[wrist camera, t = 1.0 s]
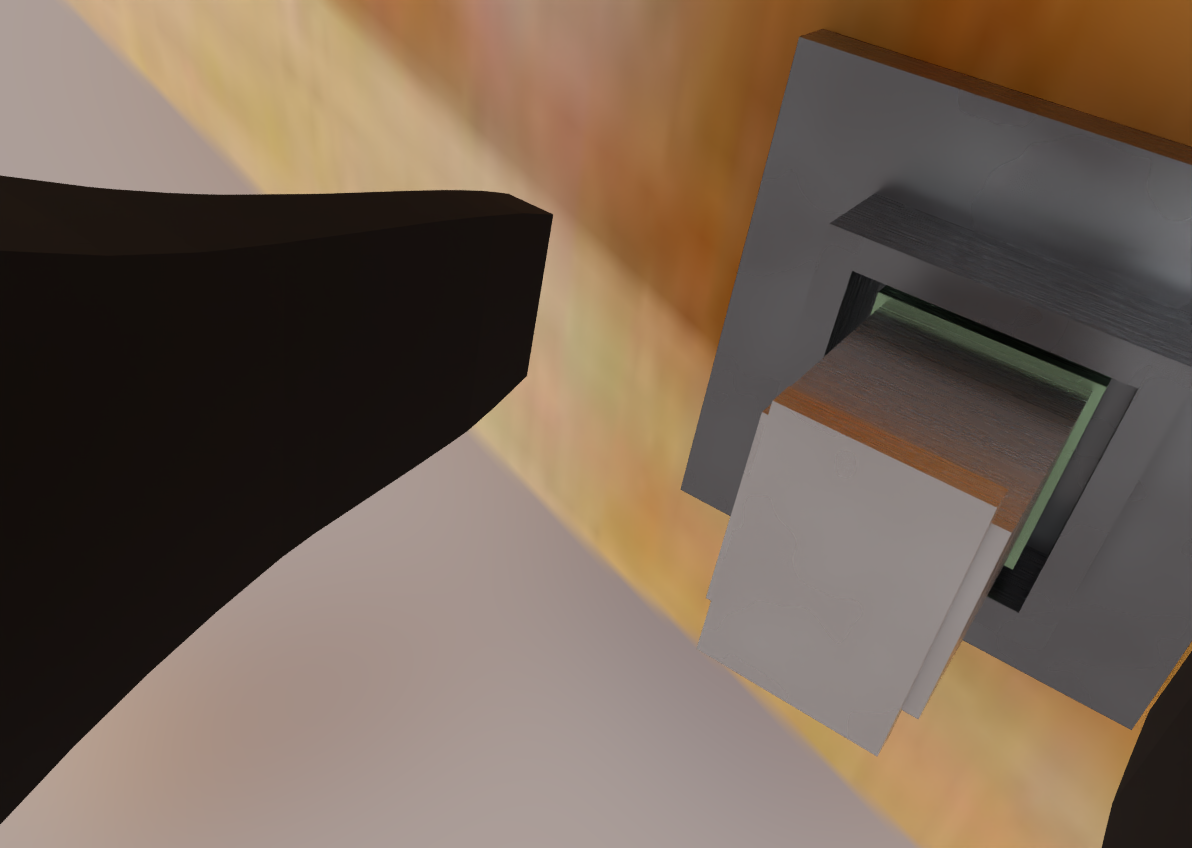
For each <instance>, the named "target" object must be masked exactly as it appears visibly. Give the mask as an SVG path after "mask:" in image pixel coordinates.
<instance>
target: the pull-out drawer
mask: <svg viewBox="0 0 1192 848" xmlns="http://www.w3.org/2000/svg"><path fill="white" fill-rule="evenodd" d="M1111 379H1112V378H1111V377H1109V376H1106V375H1104V374H1102V373H1099V372H1097V371H1094V370H1092V369H1089V368H1087V367H1085V366H1082V365H1080V364H1077V363H1075V362H1072V361H1070V360H1068V359H1065V358H1063V357H1060V356H1058V355H1055V354H1053V353H1051V352H1048V351H1046V350H1043V349H1041V348H1038V347H1036V346H1034V345H1031V344H1029V343H1026V342H1024V341H1021V340H1019V339H1017V338H1014V337H1012V336H1009V335H1007V334H1004V333H1002V332H1000V331H997V330H995V329H992V328H990V327H987V326H985V325H983V324H980V323H978V322H975V321H973V320H970V319H968V318H966V317H963V316H961V315H958V314H956V313H953V312H951V311H949V310H946V309H944V308H941V307H939V306H936V305H934V304H932V303H929V302H927V301H924V300H922V299H919V298H917V297H915V296H912V295H910V294H907V293H905V292H902V291H900V290H898V289H895V288H893V287H890V286H888V285H886V286H885V287H884V288H883V289H881V290H880V291H879V292H878V295H877V297H876V300H875V303H874V306H873V309H872V312H871V315H870V316H869V317H868V318H867V319H866V320H865V321H864V322H863V323H861V324H860V325H859V326H858V327H857V328H856V329H855V330H854V331H852V332H851V333H850V334H849V335H848V336H847V337H846V338H845V339H843V340H842V341H841V342H840V343H839V344H838V345H837V346H836V347H835V348H833V349H832V350H831V351H830V352H829V353H828V354H827V355H826V356H824V357H823V358H822V359H821V360H820V361H819V362H818V363H817V364H815V365H814V366H813V367H812V368H811V369H810V370H809V371H808V372H806V373H805V374H804V375H803V376H802V377H801V378H800V379H799V380H797V381H796V382H795V383H794V384H793V385H792V386H791V387H790V386H788V387H787V388H786V389H785V390H784V391H783V392H782V393H781V394H779V395H778V396H777V397H776V398H775V399H774V400H773V401H772V404H770V405H769V406H768V407H767V408H766V409H765V410H764V411H763V412H762V414H761V417H760V421H759V424H758V427H757V430H756V434H755V437H754V440H753V444H752V447H751V450H750V454H749V457H748V460H747V464H746V467H745V470H744V474H743V477H742V480H741V483H740V487H739V490H738V493H737V497H736V500H735V503H734V507H733V510H732V513H731V517H730V520H729V523H728V527H727V530H726V533H725V537H724V540H723V543H722V546H721V550H720V553H719V556H718V560H717V563H716V566H715V570H714V573H713V576H712V580H711V583H710V586H709V590H708V593H707V596H706V598H707V599H709V600H711V603H710V606H709V610H708V613H707V616H706V620H705V623H704V626H703V629H702V633H701V636H700V639H699V642H698V646H697V649H698V650H699V651H701V652H703V653H704V654H706V655H708V656H709V657H711V658H713V659H715V660H716V661H718V662H720V663H721V664H723V665H725V666H726V667H728V668H730V669H731V670H733V671H735V672H736V673H738V674H740V675H741V676H743V677H745V678H746V679H748V680H750V681H751V682H753V683H755V684H756V685H758V686H760V687H761V688H763V689H765V690H767V691H768V692H770V693H772V694H773V695H775V696H777V697H778V698H780V699H782V700H783V701H785V702H787V703H788V704H790V705H792V706H793V707H795V708H797V709H798V710H800V711H802V712H803V713H805V714H807V715H808V716H810V717H812V718H813V719H815V720H817V721H819V722H820V723H822V724H824V725H825V726H827V727H829V728H830V729H832V730H834V731H835V732H837V733H839V734H840V735H842V736H844V737H845V738H847V739H849V740H850V741H852V742H854V743H855V744H857V745H859V746H860V747H862V748H864V749H866V750H867V751H869V752H871V753H872V754H874V755H876V756H878V754H879V753H880V751H881V749H882V747H883V746H884V744H885V742H886V741H887V739H888V737H889V735H890V733H891V731H892V729H893V727H894V725H895V723H896V721H897V719H898V717H899V715H900V713H901V711H902V710H903V711H905V712H906V713H908V714H910V715H912V716H913V717H915V718H917V719H919V717H920V715H921V714H922V712H923V710H924V708H925V706H926V705H927V703H928V701H929V699H930V697H931V696H932V694H933V692H934V690H935V688H936V687H937V685H938V683H939V681H940V679H941V678H942V676H943V674H944V672H945V671H946V669H947V667H948V665H949V663H950V662H951V660H952V658H953V656H954V654H955V653H956V651H957V649H958V647H959V645H960V644H961V642H962V640H963V638H964V636H965V635H966V633H967V631H968V629H969V628H970V626H971V624H972V622H973V620H974V619H975V617H976V615H977V613H978V611H979V610H980V608H981V606H982V604H983V602H984V601H985V599H986V597H987V595H988V593H989V592H990V590H991V588H992V586H993V585H994V583H995V581H996V579H997V577H998V576H999V574H1000V572H1001V570H1002V568H1003V567H1004V566H1006V567H1008V568H1010V569H1012V570H1013V568H1014V567H1015V565H1016V563H1017V561H1018V559H1019V557H1020V555H1021V554H1022V552H1023V550H1024V548H1025V546H1026V544H1027V542H1028V540H1029V538H1030V536H1031V534H1032V532H1033V531H1034V529H1035V527H1036V525H1037V523H1038V521H1039V519H1040V517H1041V515H1042V513H1043V511H1044V509H1045V507H1046V505H1047V503H1048V501H1049V499H1050V498H1051V496H1052V494H1053V492H1054V490H1055V488H1056V486H1057V484H1058V482H1059V480H1060V478H1061V476H1062V474H1063V472H1064V470H1065V468H1066V466H1067V465H1068V463H1069V461H1070V459H1071V457H1072V455H1073V453H1074V451H1075V449H1076V447H1077V445H1078V443H1079V441H1080V439H1081V437H1082V435H1083V433H1084V431H1085V430H1086V428H1087V426H1088V424H1089V422H1090V420H1091V418H1092V416H1093V414H1094V412H1095V410H1096V408H1097V406H1098V404H1099V402H1100V400H1101V398H1102V397H1103V395H1104V393H1105V391H1106V389H1107V387H1108V385H1109V383H1110V381H1111Z"/></svg>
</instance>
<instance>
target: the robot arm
mask: <svg viewBox="0 0 1192 848" xmlns="http://www.w3.org/2000/svg"><path fill="white" fill-rule="evenodd" d="M552 219H553V214H551V213H549V212H547V211H544V210H542V209H540V208H538V207H536V206H534V205H531V204H529V203H527V202H525V201H523V200H521V199H518V198H516V197H514V196H512V195H510V194H505V193H497V192H488V191H467V190H430V191H393V192H364V193H335V194H264V195H208V194H179V193H160V192H145V191H130V190H116V189H104V188H94V187H84V186H76V185H69V184H60V183H54V182H45V181H37V180H30V179H22V178H14V177H6V176H0V824H1V823H2V822H3V821H4V820H5V819H6V818H7V817H8V816H9V815H10V813H11V812H12V811H13V810H14V809H15V808H16V807H17V806H18V805H19V804H20V803H21V802H22V801H23V800H24V798H25V797H27V796H28V794H29V793H30V792H31V791H32V790H33V789H34V788H35V787H36V786H37V785H38V784H39V783H40V782H41V781H42V780H43V779H44V777H45V776H46V775H47V774H48V773H49V772H50V771H51V770H52V769H53V768H54V767H55V766H56V765H57V764H58V763H59V761H60V760H61V759H62V758H63V757H64V756H65V755H66V754H67V753H68V752H69V751H70V750H71V749H72V748H73V747H74V746H75V745H76V744H77V743H78V742H79V741H80V740H81V739H82V738H83V737H84V736H85V735H86V734H87V733H88V732H89V731H90V730H91V729H92V728H93V727H94V726H95V725H96V724H97V723H98V722H99V721H100V720H101V719H102V718H103V717H104V716H105V715H106V714H107V713H108V712H109V711H110V710H112V709H113V708H114V707H115V706H116V705H117V704H118V703H119V702H120V701H121V700H122V699H123V698H124V697H125V696H126V695H127V694H128V693H129V692H130V691H131V690H132V689H133V688H134V687H135V686H136V685H137V684H138V683H139V682H140V681H141V680H142V679H143V678H144V677H145V676H146V675H147V674H148V673H149V672H151V671H152V670H153V669H154V668H155V667H156V666H157V665H158V664H159V663H160V662H162V661H163V660H164V659H165V658H166V657H167V656H168V655H169V654H170V653H172V652H173V651H174V650H175V649H176V648H177V647H178V646H179V645H180V644H182V642H184V641H185V640H186V639H187V638H188V637H189V636H190V635H192V634H193V633H194V632H195V631H196V630H197V629H198V628H199V627H200V626H201V625H203V624H204V623H205V622H206V621H207V620H208V619H209V618H210V617H211V616H212V615H214V614H215V613H216V612H217V611H218V610H219V609H221V608H222V607H223V606H224V605H225V604H226V603H228V602H229V601H230V600H231V599H233V598H234V597H235V596H236V595H237V594H238V593H240V592H241V591H242V590H243V589H244V588H246V587H247V586H248V585H249V584H250V583H251V582H253V581H254V580H255V579H256V578H257V577H259V576H260V575H261V574H262V573H263V572H265V571H266V570H267V569H268V568H269V567H271V566H272V565H273V564H274V563H275V562H277V561H278V560H279V559H280V558H282V557H283V556H284V555H286V554H287V553H288V552H290V551H291V550H292V549H294V548H295V547H297V546H298V545H299V544H301V543H302V542H303V541H305V540H306V539H307V538H309V537H310V536H312V535H313V534H314V533H316V532H317V531H319V530H320V529H322V528H323V527H325V526H327V525H328V524H329V523H331V522H332V521H334V520H336V519H337V518H339V517H340V516H342V515H343V514H344V513H346V512H348V511H349V510H351V509H352V508H353V507H355V506H357V505H358V504H360V503H361V502H363V501H364V500H366V499H367V498H369V497H370V496H372V495H373V494H375V493H376V492H378V491H379V490H381V489H382V488H384V487H385V486H387V485H388V484H390V483H392V482H393V481H395V480H396V479H398V478H399V477H400V476H402V475H404V474H405V473H407V472H408V471H410V470H411V469H413V468H414V467H416V466H417V465H419V464H420V463H422V462H423V461H424V460H426V459H428V458H429V457H430V456H432V455H433V454H435V453H436V452H438V451H439V450H441V449H442V448H443V447H445V446H447V445H448V444H450V443H451V442H452V441H454V440H455V439H457V438H458V437H460V436H461V435H462V434H464V433H465V432H467V431H468V430H469V429H470V428H471V427H472V426H474V425H475V424H476V423H477V422H478V421H479V420H480V419H482V418H483V417H484V416H485V415H486V414H487V413H488V412H489V411H491V410H492V409H493V408H494V407H495V406H496V405H497V404H498V403H499V402H500V401H501V400H502V399H503V398H504V397H505V396H507V395H508V394H509V393H510V392H511V391H512V390H513V389H514V388H515V387H516V386H517V385H518V384H519V383H520V382H521V381H522V380H523V379H524V378H525V377H526V376H527V372H528V366H529V359H530V353H531V347H532V341H533V335H534V329H535V323H536V317H537V310H538V304H539V298H540V292H541V286H542V280H543V274H544V268H545V262H546V255H547V249H548V243H549V237H550V231H551V225H552ZM1102 848H1192V652H1191V653H1190V654H1189V656H1188V657H1187V659H1186V660H1185V662H1184V663H1183V664H1182V666H1181V667H1180V669H1179V670H1178V671H1177V673H1176V674H1175V676H1174V677H1173V678H1172V680H1171V681H1170V683H1169V684H1168V685H1167V687H1166V688H1165V690H1164V691H1163V692H1162V694H1161V695H1160V697H1159V698H1158V699H1157V701H1156V702H1155V704H1154V705H1153V706H1152V708H1151V709H1150V711H1149V713H1148V715H1147V718H1146V720H1145V723H1144V725H1143V728H1142V730H1141V733H1140V735H1139V737H1138V740H1137V742H1136V745H1135V747H1134V750H1133V752H1132V755H1131V757H1130V759H1129V762H1128V765H1127V767H1126V770H1125V772H1124V775H1123V777H1122V780H1121V783H1120V785H1119V788H1118V790H1117V793H1116V796H1115V798H1114V801H1113V803H1112V807H1111V811H1110V815H1109V820H1108V824H1107V828H1106V832H1105V836H1104V840H1103V845H1102Z"/></svg>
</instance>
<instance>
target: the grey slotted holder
mask: <svg viewBox="0 0 1192 848" xmlns="http://www.w3.org/2000/svg"><path fill="white" fill-rule="evenodd" d="M886 285H888V286H890V287H893V288H895V289H898V290H900V291H902V292H905V293H907V294H910V295H912V296H915V297H917V298H919V299H922V300H924V301H927V302H929V303H932V304H934V305H936V306H939V307H941V308H944V309H946V310H949V311H951V312H953V313H956V314H958V315H961V316H963V317H966V318H968V319H970V320H973V321H975V322H978V323H980V324H983V325H985V326H987V327H990V328H992V329H995V330H997V331H1000V332H1002V333H1004V334H1007V335H1009V336H1012V337H1014V338H1017V339H1019V340H1021V341H1024V342H1026V343H1029V344H1031V345H1034V346H1036V347H1038V348H1041V349H1043V350H1046V351H1048V352H1051V353H1053V354H1055V355H1058V356H1060V357H1063V358H1065V359H1068V360H1070V361H1072V362H1075V363H1077V364H1080V365H1082V366H1085V367H1087V368H1089V369H1092V370H1094V371H1097V372H1099V373H1102V374H1104V375H1106V376H1109V377H1111V378H1112V379H1111V381H1110V383H1109V385H1108V387H1107V389H1106V391H1105V393H1104V395H1103V397H1102V398H1101V400H1100V402H1099V404H1098V406H1097V408H1096V410H1095V412H1094V414H1093V416H1092V418H1091V420H1090V422H1089V424H1088V426H1087V428H1086V430H1085V431H1084V433H1083V435H1082V437H1081V439H1080V441H1079V443H1078V445H1077V447H1076V449H1075V451H1074V453H1073V455H1072V457H1071V459H1070V461H1069V463H1068V465H1067V466H1066V468H1065V470H1064V472H1063V474H1062V476H1061V478H1060V480H1059V482H1058V484H1057V486H1056V488H1055V490H1054V492H1053V494H1052V496H1051V498H1050V499H1049V501H1048V503H1047V505H1046V507H1045V509H1044V511H1043V513H1042V515H1041V517H1040V519H1039V521H1038V523H1037V525H1036V527H1035V529H1034V531H1033V532H1032V534H1031V536H1030V538H1029V540H1028V542H1027V544H1026V546H1025V548H1024V550H1023V552H1022V554H1021V555H1020V557H1019V559H1018V561H1017V563H1016V565H1015V567H1014V568H1013V570H1012V569H1010V568H1008V567H1006V566H1004V567H1003V568H1002V570H1001V572H1000V574H999V576H998V577H997V579H996V581H995V583H994V585H993V586H992V588H991V590H990V592H989V593H988V595H987V597H986V599H985V601H984V602H983V604H982V606H981V608H980V610H979V611H978V613H977V615H976V617H975V619H974V620H973V622H972V624H971V626H970V628H969V629H968V631H967V633H966V635H965V636H964V638H963V640H964V641H965V642H967V643H969V644H971V645H973V646H975V647H977V648H979V649H980V650H982V651H984V652H986V653H988V654H990V655H992V656H994V657H995V658H997V659H999V660H1001V661H1003V662H1005V663H1007V664H1009V665H1010V666H1012V667H1014V668H1016V669H1018V670H1020V671H1022V672H1024V673H1025V674H1027V675H1029V676H1031V677H1033V678H1035V679H1037V680H1039V681H1040V682H1042V683H1044V684H1046V685H1048V686H1050V687H1052V688H1054V689H1055V690H1057V691H1059V692H1061V693H1063V694H1065V695H1067V696H1069V697H1070V698H1072V699H1074V700H1076V701H1078V702H1080V703H1082V704H1084V705H1085V706H1087V707H1089V708H1091V709H1093V710H1095V711H1097V712H1099V713H1100V714H1102V715H1104V716H1106V717H1108V718H1110V719H1112V720H1114V721H1115V722H1117V723H1119V724H1121V725H1123V726H1125V727H1127V728H1129V729H1130V730H1132V729H1133V727H1134V726H1135V724H1136V723H1137V721H1138V720H1139V718H1140V717H1141V715H1142V714H1143V712H1144V711H1145V709H1146V708H1147V706H1148V705H1149V703H1150V702H1151V700H1152V699H1153V698H1154V696H1155V695H1156V693H1157V692H1158V690H1159V689H1160V687H1161V686H1162V684H1163V683H1164V681H1165V680H1166V678H1167V677H1168V675H1169V674H1170V672H1171V671H1172V669H1173V668H1174V666H1175V665H1176V664H1177V662H1178V661H1179V659H1180V658H1181V656H1182V655H1183V653H1184V652H1185V650H1186V649H1187V647H1188V646H1189V644H1190V643H1191V641H1192V147H1189V146H1186V145H1183V144H1180V143H1176V142H1173V141H1170V140H1167V139H1164V138H1161V137H1158V136H1155V135H1152V134H1148V133H1145V132H1142V131H1139V130H1136V129H1133V128H1130V127H1127V126H1123V125H1120V124H1117V123H1114V122H1111V121H1108V120H1105V119H1102V118H1099V117H1095V116H1092V115H1089V114H1086V113H1083V112H1080V111H1077V110H1074V109H1071V108H1067V107H1064V106H1061V105H1058V104H1055V103H1052V102H1049V101H1046V100H1042V99H1039V98H1036V97H1033V96H1030V95H1027V94H1024V93H1021V92H1018V91H1014V90H1011V89H1008V88H1005V87H1002V86H999V85H996V84H993V83H990V82H986V81H983V80H980V79H977V78H974V77H971V76H968V75H965V74H961V73H958V72H955V71H952V70H949V69H946V68H943V67H940V66H937V65H933V64H930V63H927V62H924V61H921V60H918V59H915V58H912V57H908V56H905V55H902V54H899V53H896V52H893V51H890V50H887V49H884V48H880V47H877V46H874V45H871V44H868V43H865V42H862V41H859V40H856V39H852V38H849V37H846V36H843V35H840V34H837V33H834V32H831V31H827V30H824V29H821V30H818V31H815V32H812V33H809V34H806V35H803V36H800V37H799V40H798V44H797V48H796V52H795V55H794V59H793V63H792V67H791V71H790V74H789V78H788V82H787V86H786V90H785V94H784V97H783V101H782V105H781V109H780V113H779V116H778V120H777V124H776V128H775V132H774V135H773V139H772V143H771V147H770V151H769V154H768V158H767V162H766V166H765V170H764V174H763V177H762V181H761V185H760V189H759V193H758V196H757V200H756V204H755V208H754V212H753V215H752V219H751V223H750V227H749V231H748V234H747V238H746V242H745V246H744V250H743V254H742V257H741V261H740V265H739V269H738V273H737V276H736V280H735V284H734V288H733V292H732V295H731V299H730V303H729V307H728V311H727V314H726V318H725V322H724V326H723V330H722V333H721V337H720V341H719V345H718V349H717V353H716V356H715V360H714V364H713V368H712V372H711V375H710V379H709V383H708V387H707V391H706V394H705V398H704V402H703V406H702V410H701V413H700V417H699V421H698V425H697V429H696V433H695V436H694V440H693V444H692V448H691V452H690V455H689V459H688V463H687V467H686V471H685V474H684V478H683V482H682V486H681V490H682V491H684V492H686V493H688V494H690V495H692V496H694V497H695V498H697V499H699V500H701V501H703V502H705V503H707V504H709V505H710V506H712V507H714V508H716V509H718V510H720V511H722V512H724V513H725V514H727V515H729V516H731V513H732V510H733V507H734V503H735V500H736V497H737V493H738V490H739V487H740V483H741V480H742V477H743V474H744V470H745V467H746V464H747V460H748V457H749V454H750V450H751V447H752V444H753V440H754V437H755V434H756V430H757V427H758V424H759V421H760V417H761V414H762V412H763V411H764V410H765V409H766V408H767V407H768V406H769V405H770V404H772V401H773V400H774V399H775V398H776V397H777V396H778V395H779V394H781V393H782V392H783V391H784V390H785V389H786V388H787V387H788V386H790V387H791V386H792V385H793V384H794V383H795V382H796V381H797V380H799V379H800V378H801V377H802V376H803V375H804V374H805V373H806V372H808V371H809V370H810V369H811V368H812V367H813V366H814V365H815V364H817V363H818V362H819V361H820V360H821V359H822V358H823V357H824V356H826V355H827V354H828V353H829V352H830V351H831V350H832V349H833V348H835V347H836V346H837V345H838V344H839V343H840V342H841V341H842V340H843V339H845V338H846V337H847V336H848V335H849V334H850V333H851V332H852V331H854V330H855V329H856V328H857V327H858V326H859V325H860V324H861V323H863V322H864V321H865V320H866V319H867V318H868V317H869V316H870V315H871V312H872V309H873V306H874V303H875V300H876V297H877V295H878V292H879V291H880V290H881V289H883V288H884V287H885V286H886Z"/></svg>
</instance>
